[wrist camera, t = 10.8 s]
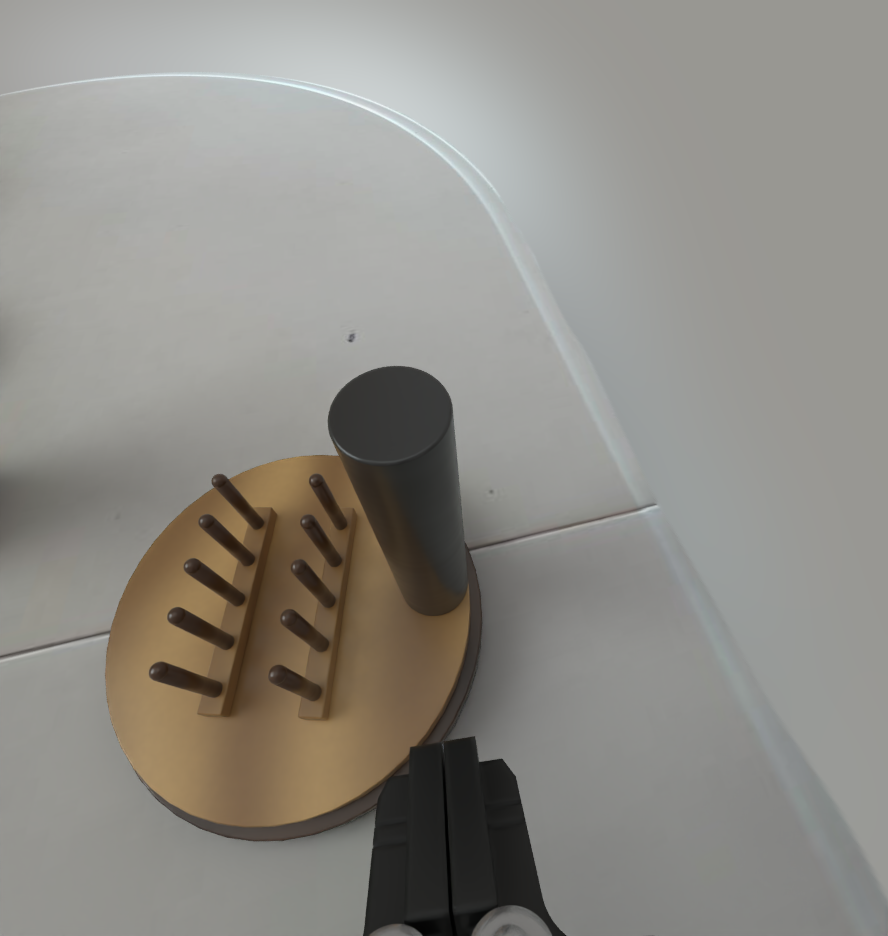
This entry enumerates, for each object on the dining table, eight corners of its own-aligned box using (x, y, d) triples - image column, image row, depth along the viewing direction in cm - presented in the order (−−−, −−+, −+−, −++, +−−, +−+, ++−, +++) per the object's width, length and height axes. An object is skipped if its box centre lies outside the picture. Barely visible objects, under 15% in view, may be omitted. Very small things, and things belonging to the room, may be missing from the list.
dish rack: (472, 463, 26) (462, 234, 15) (468, 836, 18) (441, 931, 7) (184, 465, 28) (-19, 254, 17) (55, 814, 19) (-533, 863, 8)
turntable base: (554, 697, 21) (558, 693, 20) (164, 939, 18) (145, 949, 17) (391, 425, 30) (388, 413, 29) (104, 557, 27) (89, 548, 26)
